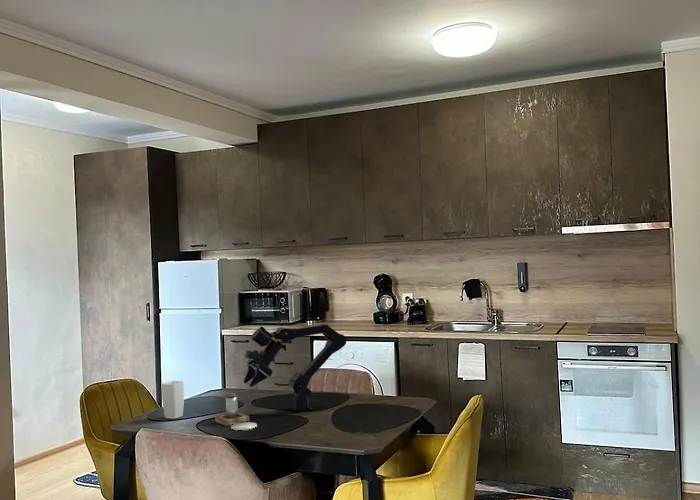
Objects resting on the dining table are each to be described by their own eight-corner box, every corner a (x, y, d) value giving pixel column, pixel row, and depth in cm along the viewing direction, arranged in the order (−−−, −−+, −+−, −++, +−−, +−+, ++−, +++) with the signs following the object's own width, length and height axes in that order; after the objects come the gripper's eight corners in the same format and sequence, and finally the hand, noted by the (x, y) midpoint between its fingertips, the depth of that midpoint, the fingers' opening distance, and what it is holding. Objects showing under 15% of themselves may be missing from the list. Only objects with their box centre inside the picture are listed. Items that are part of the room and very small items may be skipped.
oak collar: (237, 417, 267) (237, 412, 267) (249, 421, 259) (249, 416, 259) (215, 421, 261) (215, 416, 261) (226, 425, 253) (226, 420, 253)
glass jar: (235, 419, 263) (233, 392, 264) (240, 421, 259) (239, 393, 260) (224, 421, 260) (223, 394, 261) (229, 423, 257) (228, 395, 257)
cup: (186, 416, 271) (185, 381, 272) (173, 420, 265) (172, 384, 265) (174, 415, 275) (172, 380, 275) (161, 419, 269) (159, 383, 269)
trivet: (249, 422, 257) (249, 421, 257) (261, 427, 249) (261, 425, 249) (226, 427, 251) (226, 425, 251) (238, 432, 243) (238, 430, 243)
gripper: (249, 340, 276) (226, 370, 272) (261, 344, 259) (238, 376, 255) (268, 355, 280) (246, 385, 275) (282, 360, 263) (259, 392, 258)
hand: (247, 384), depth 266 cm, fingers open, 9 cm apart
